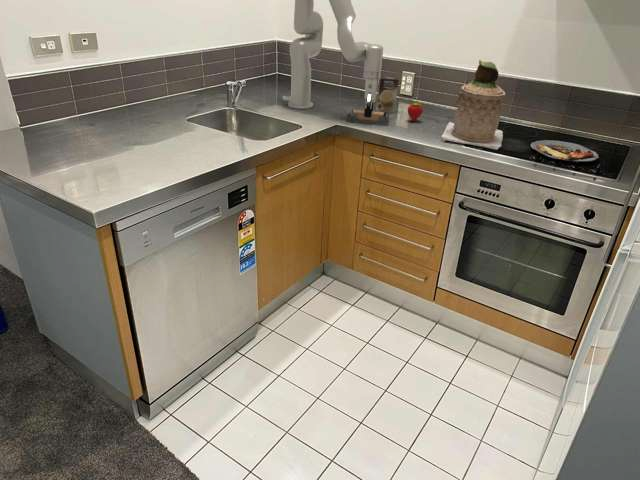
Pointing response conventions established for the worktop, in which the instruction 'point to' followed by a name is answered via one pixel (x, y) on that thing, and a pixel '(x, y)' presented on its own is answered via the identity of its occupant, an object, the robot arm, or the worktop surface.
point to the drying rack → (353, 118)
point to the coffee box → (387, 94)
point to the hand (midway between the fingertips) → (368, 114)
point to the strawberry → (415, 111)
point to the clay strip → (373, 117)
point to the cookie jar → (478, 110)
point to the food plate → (564, 151)
